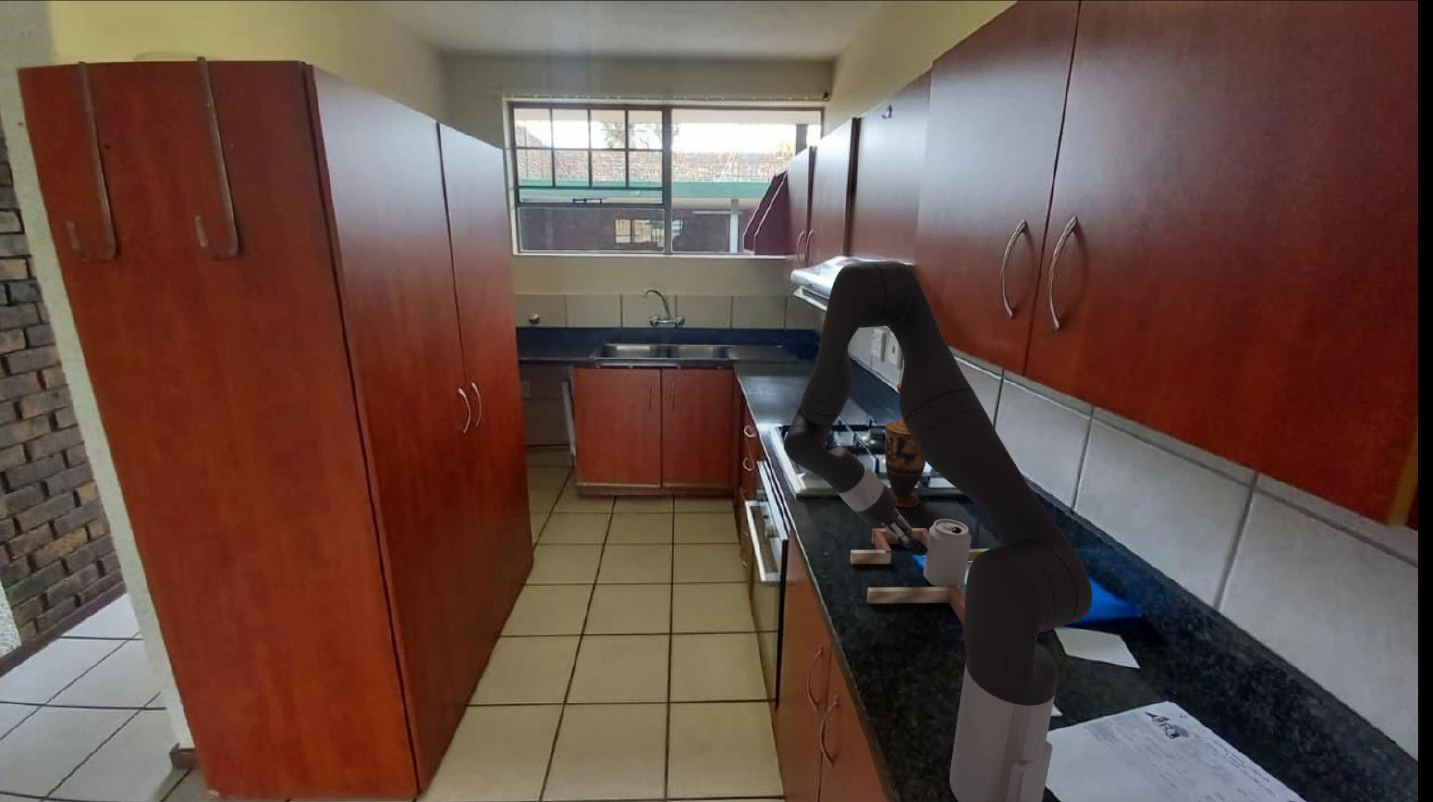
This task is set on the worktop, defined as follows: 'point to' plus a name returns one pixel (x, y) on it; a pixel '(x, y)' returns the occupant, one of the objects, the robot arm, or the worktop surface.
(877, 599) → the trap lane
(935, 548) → the can
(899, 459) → the vase
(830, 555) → the worktop surface
